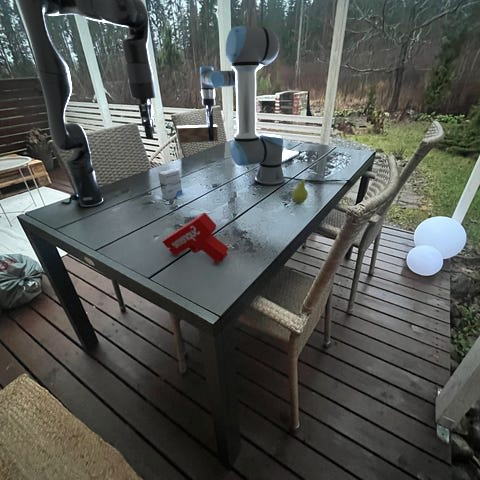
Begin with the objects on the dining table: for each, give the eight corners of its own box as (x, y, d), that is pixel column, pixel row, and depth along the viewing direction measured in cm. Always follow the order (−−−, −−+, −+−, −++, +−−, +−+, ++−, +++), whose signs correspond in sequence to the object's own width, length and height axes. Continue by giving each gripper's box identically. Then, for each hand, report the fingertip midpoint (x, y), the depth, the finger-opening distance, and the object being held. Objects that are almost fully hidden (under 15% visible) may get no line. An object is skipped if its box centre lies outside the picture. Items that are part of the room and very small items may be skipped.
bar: (216, 139, 174) (216, 124, 169) (217, 141, 169) (217, 126, 164) (178, 140, 169) (176, 126, 164) (178, 143, 164) (177, 128, 160)
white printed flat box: (278, 164, 168) (279, 155, 165) (234, 155, 185) (234, 147, 183) (298, 154, 186) (299, 146, 183) (256, 147, 204) (256, 139, 201)
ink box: (177, 191, 132) (173, 167, 126) (183, 194, 129) (179, 170, 123) (161, 196, 127) (157, 172, 121) (167, 199, 124) (163, 174, 118)
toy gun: (235, 250, 84) (205, 211, 80) (230, 257, 81) (199, 217, 77) (197, 268, 94) (169, 235, 90) (191, 276, 91) (162, 241, 87)
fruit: (288, 200, 123) (290, 174, 116) (302, 197, 125) (305, 172, 119) (296, 206, 118) (299, 179, 111) (310, 203, 120) (314, 177, 114)
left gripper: (131, 80, 89) (141, 132, 97) (124, 82, 77) (137, 141, 86) (155, 79, 90) (162, 131, 99) (152, 81, 78) (161, 140, 87)
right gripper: (200, 96, 164) (203, 136, 177) (203, 99, 149) (206, 143, 162) (212, 96, 166) (214, 135, 178) (217, 99, 150) (219, 142, 163)
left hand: (150, 136), depth 92 cm, fingers open, 8 cm apart
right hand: (210, 139), depth 170 cm, fingers closed on bar, 6 cm apart
